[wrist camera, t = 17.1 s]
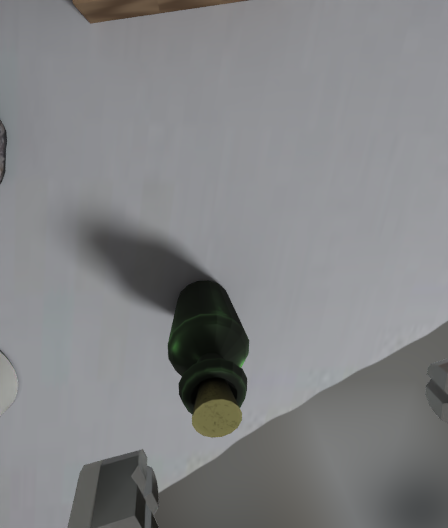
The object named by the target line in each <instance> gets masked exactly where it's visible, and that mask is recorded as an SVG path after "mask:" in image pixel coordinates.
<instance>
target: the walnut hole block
mask: <svg viewBox="0 0 448 528" xmlns="http://www.w3.org/2000/svg"><path fill="white" fill-rule="evenodd" d="M72 1H73V4H74V5H75V7H76V8H77V9H78V10H79V11H80V12H81V13H82V14H83V16H84V17H85V18H86V19H87V20H88V21H89V22H90V23H97V22H104V21H110V20H117V19H124V18H131V17H138V16H145V15H151V14H158V13H165V12H172V11H179V10H186V9H193V8H199V7H206V6H213V5H220V4H227V3H234V2H240V1H247V0H72Z"/></svg>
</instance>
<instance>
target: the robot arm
mask: <svg viewBox="0 0 448 528" xmlns="http://www.w3.org/2000/svg"><path fill="white" fill-rule="evenodd" d="M427 374H428V376H429V377H430V378H431V380H430V381H429V382H428V384H427V385H426V397H427V400H428V403H429V405H430V407H431V408H432V410H433V411H434V412H435V414H436V415H437V416H438V417H439V418H440V419H441V420H442V421H445V422H447V423H448V359H445V360H442V361H438V362H435V363H432V364H431V365H430V366H429V367H428V371H427ZM17 391H18V380H17V375H16V373H15V370H14V368H13V366H12V365H11V363H10V362H9V361H8V359H7V358H6V357H5V356H4V355H3V354H2V353H1V352H0V416H1V415H2V414H3V413H4V412H5V411H6V410H7V409H8V408H9V407H10V406H11V405H12V403H13V402H14V400H15V398H16V395H17ZM158 507H159V494H158V486H157V480H156V476H155V473H154V471H153V469H152V467H149V466H147V456H146V454H145V452H144V450H143V449H142V450H138V451H135V452H131V453H127V454H123V455H120V456H116V457H112V458H108V459H104V460H101V461H97V462H94V463H90V464H87V465H84V466H83V468H82V470H81V472H80V475H79V479H78V483H77V488H76V492H75V497H74V501H73V506H72V510H71V514H70V519H69V523H68V528H159V526H158V524H157V522H156V520H155V518H154V515H155V513H156V511H157V509H158Z"/></svg>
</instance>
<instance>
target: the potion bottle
mask: <svg viewBox="0 0 448 528" xmlns="http://www.w3.org/2000/svg"><path fill="white" fill-rule="evenodd" d="M248 353H249V339H248V337H247V335H246V333H245V330H244V328H243V326H242V324H241V322H240V320H239V318H238V315H237V313H236V311H235V309H234V307H233V305H232V303H231V301H230V298H229V296H228V294H227V292H226V290H225V289H224V288H222V287H221V286H220V285H219V284H217V283H214V282H211V281H197V282H195V283H193V284H190V285H188V286H187V287H186V288H185V289H184V290H183V291H182V292H181V293H180V296H179V298H178V301H177V305H176V310H175V314H174V319H173V323H172V328H171V333H170V337H169V342H168V357H169V360H170V362H171V364H172V365H173V367H174V369H175V370H176V371H177V372H178V373H179V374H180V375H181V376H182V378H181V380H180V382H179V395H180V397H181V400H182V402H183V404H184V405H185V407H186V409H187V410H188V412H190V413H191V414H193V415H192V425H193V427H194V428H195V430H196V431H197V432H198V433H200V434H202V435H203V436H208V437H222V436H225V435H227V434H230V433H232V432H233V431H234V430H235V429H236V428H238V426H239V424H240V422H241V421H242V412H241V410H240V407H241V405H242V403H243V401H244V399H245V396H246V391H247V377H246V375H245V373H244V371H243V369H242V368H241V367H242V365H243V363H244V361H245V359H246V357H247V356H248Z"/></svg>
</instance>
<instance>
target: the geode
mask: <svg viewBox="0 0 448 528" xmlns="http://www.w3.org/2000/svg"><path fill="white" fill-rule="evenodd" d="M6 145H7V136H6V130H5V127H4V125H3V124H2V122H1V120H0V184H1V182H2V180H3V177H4V174H5V160H6Z"/></svg>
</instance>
